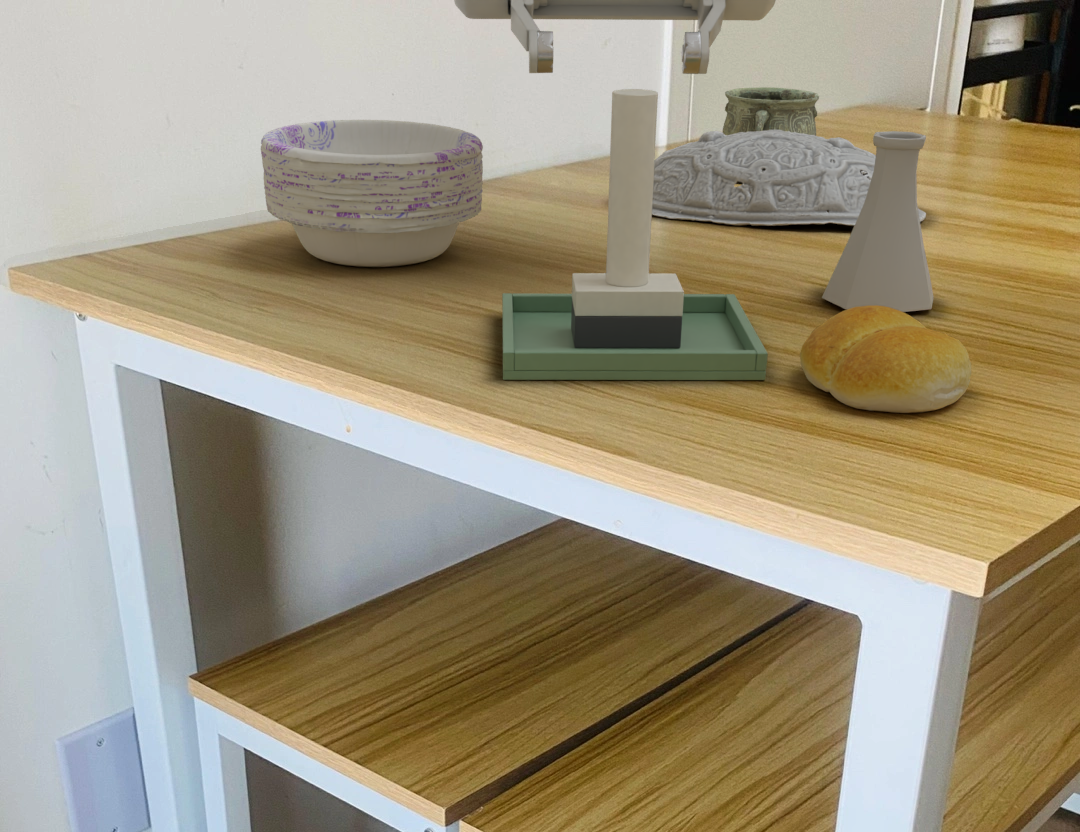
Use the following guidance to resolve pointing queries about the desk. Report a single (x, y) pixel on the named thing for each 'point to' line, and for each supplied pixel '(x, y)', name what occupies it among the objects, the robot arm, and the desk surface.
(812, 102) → the vessel
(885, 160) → the flask
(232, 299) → the desk surface
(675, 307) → the brush
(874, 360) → the bread roll
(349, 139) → the paper bowls
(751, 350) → the tray
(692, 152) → the grey carved stone ornament
